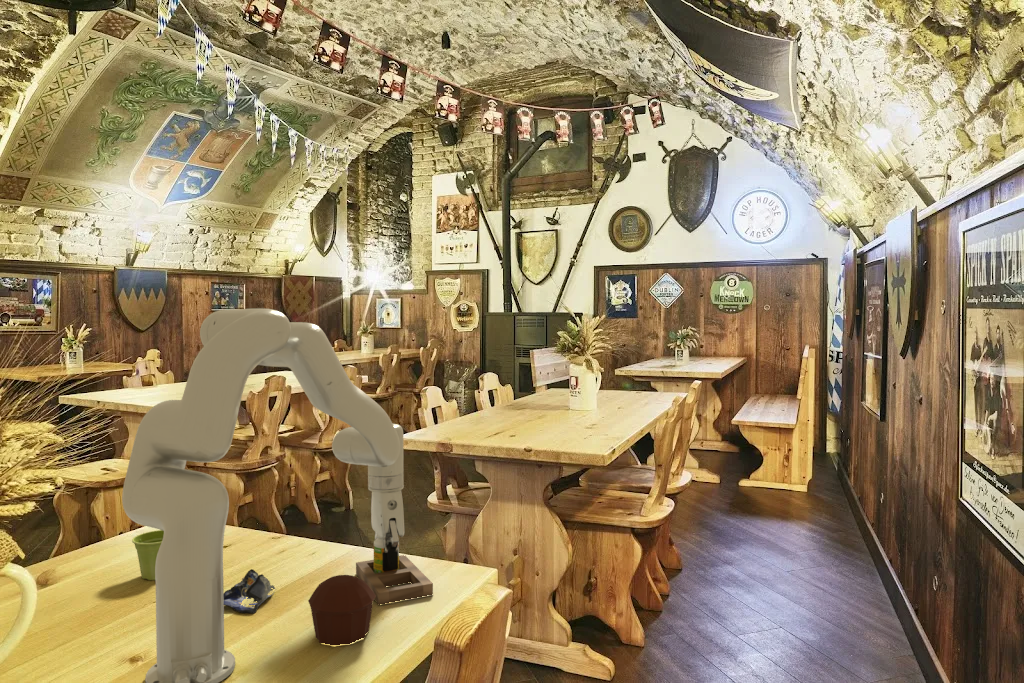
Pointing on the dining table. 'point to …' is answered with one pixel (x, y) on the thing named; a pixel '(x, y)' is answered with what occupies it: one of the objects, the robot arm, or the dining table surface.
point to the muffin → (341, 609)
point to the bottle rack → (395, 581)
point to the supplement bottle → (380, 554)
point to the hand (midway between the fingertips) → (386, 564)
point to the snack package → (248, 592)
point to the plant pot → (148, 551)
